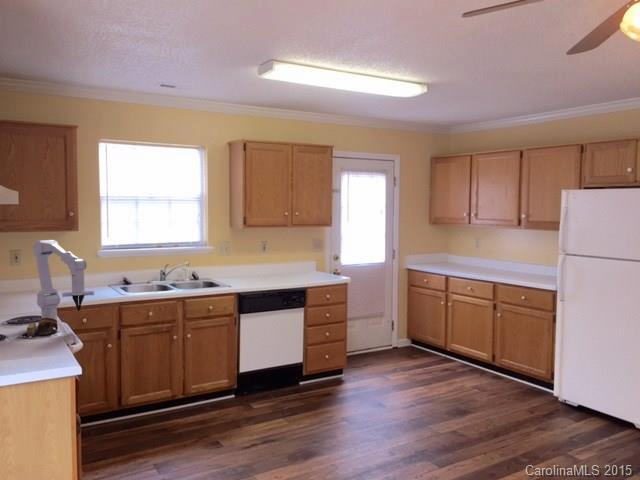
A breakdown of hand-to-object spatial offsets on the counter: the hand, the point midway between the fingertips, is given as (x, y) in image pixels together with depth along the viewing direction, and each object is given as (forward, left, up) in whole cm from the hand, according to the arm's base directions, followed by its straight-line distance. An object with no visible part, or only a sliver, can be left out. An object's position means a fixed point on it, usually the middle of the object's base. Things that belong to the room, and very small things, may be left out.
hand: (78, 310), depth 268 cm
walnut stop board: (+2, -21, -9) cm, 23 cm away
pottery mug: (+2, -14, -10) cm, 17 cm away
